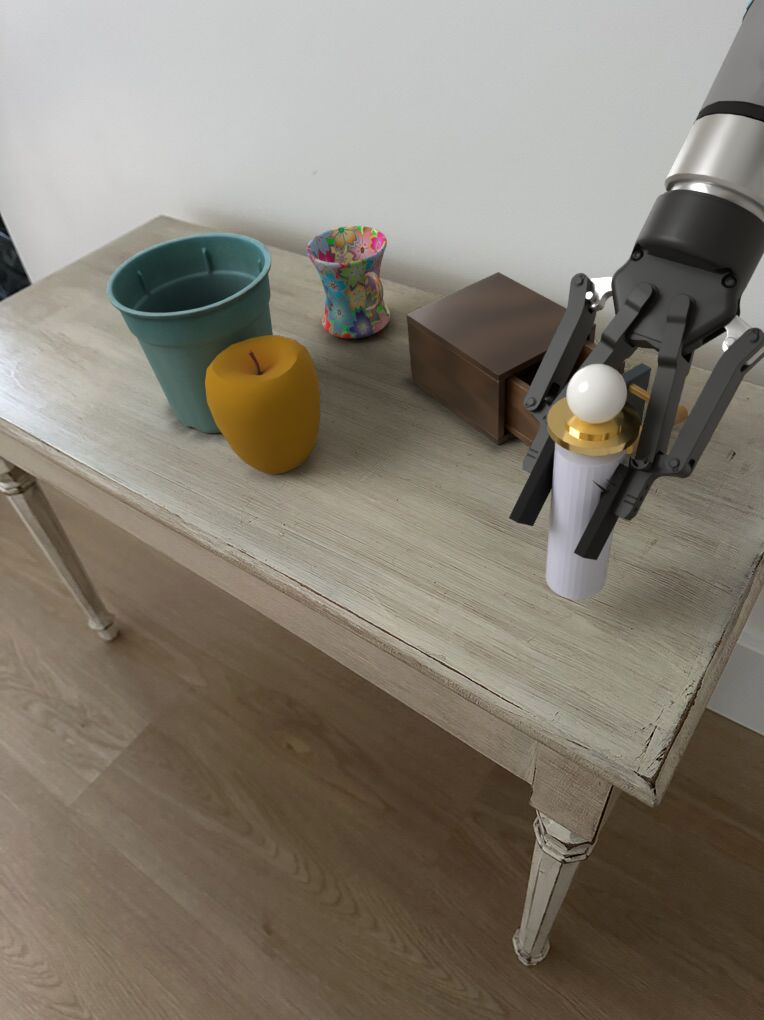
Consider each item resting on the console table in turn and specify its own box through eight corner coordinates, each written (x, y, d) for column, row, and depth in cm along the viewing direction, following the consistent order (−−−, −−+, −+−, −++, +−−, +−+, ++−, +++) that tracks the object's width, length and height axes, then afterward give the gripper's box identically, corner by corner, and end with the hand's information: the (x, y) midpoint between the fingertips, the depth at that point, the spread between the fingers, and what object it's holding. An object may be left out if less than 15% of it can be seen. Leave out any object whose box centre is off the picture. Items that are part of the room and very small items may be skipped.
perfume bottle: (523, 591, 61) (532, 379, 47) (559, 545, 64) (578, 333, 50) (591, 624, 59) (623, 409, 45) (625, 574, 62) (665, 358, 48)
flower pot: (126, 437, 86) (72, 306, 75) (196, 352, 97) (157, 227, 86) (262, 457, 82) (226, 322, 70) (319, 366, 92) (296, 235, 81)
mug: (307, 321, 100) (292, 242, 92) (370, 296, 102) (361, 217, 95) (353, 365, 92) (341, 282, 84) (420, 337, 95) (414, 254, 87)
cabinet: (588, 394, 84) (596, 324, 78) (498, 445, 80) (498, 375, 74) (497, 338, 93) (498, 271, 87) (411, 381, 89) (406, 314, 83)
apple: (273, 410, 87) (249, 306, 78) (352, 440, 82) (336, 333, 73) (205, 469, 81) (170, 364, 72) (286, 505, 76) (259, 397, 67)
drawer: (693, 456, 75) (707, 398, 70) (606, 511, 71) (615, 454, 66) (546, 366, 87) (550, 311, 82) (465, 409, 83) (464, 354, 78)
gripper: (864, 270, 49) (684, 602, 52) (612, 206, 58) (475, 492, 62) (858, 220, 42) (655, 601, 46) (577, 157, 52) (427, 479, 56)
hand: (552, 538), depth 54 cm, fingers closed on perfume bottle, 4 cm apart
